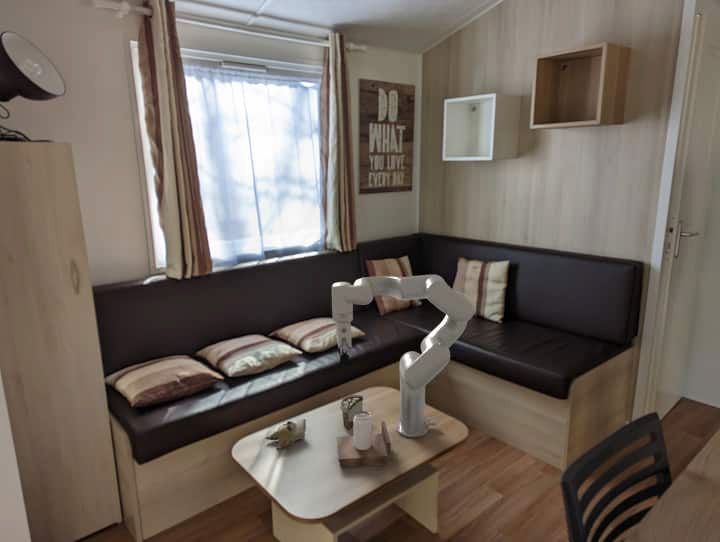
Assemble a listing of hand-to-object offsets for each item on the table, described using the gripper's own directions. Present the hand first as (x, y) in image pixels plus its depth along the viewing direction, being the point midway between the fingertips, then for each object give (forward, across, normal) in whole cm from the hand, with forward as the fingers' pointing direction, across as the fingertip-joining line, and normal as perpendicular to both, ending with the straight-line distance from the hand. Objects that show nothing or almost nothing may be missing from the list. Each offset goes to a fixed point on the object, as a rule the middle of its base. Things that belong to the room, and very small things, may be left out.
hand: (343, 358), depth 190 cm
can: (+26, -17, -5) cm, 32 cm away
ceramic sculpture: (+31, -5, +22) cm, 38 cm away
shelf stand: (+30, -17, -5) cm, 35 cm away
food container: (+31, +6, -2) cm, 31 cm away
